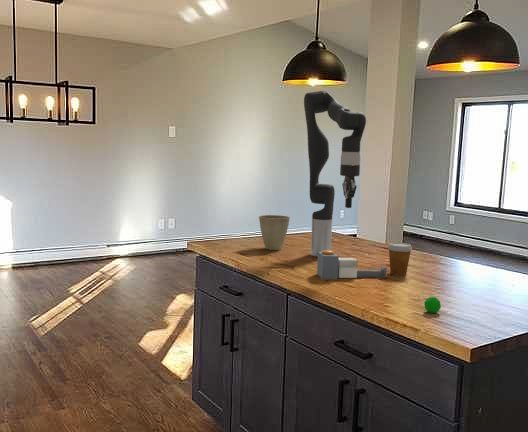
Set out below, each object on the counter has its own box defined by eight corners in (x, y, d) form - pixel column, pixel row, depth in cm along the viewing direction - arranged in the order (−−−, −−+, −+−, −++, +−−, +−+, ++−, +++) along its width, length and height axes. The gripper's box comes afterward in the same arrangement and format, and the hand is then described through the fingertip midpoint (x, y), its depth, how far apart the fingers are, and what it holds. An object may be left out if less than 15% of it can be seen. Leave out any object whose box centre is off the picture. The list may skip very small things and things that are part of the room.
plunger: (320, 261, 221) (321, 250, 221) (331, 261, 222) (332, 250, 221) (323, 264, 217) (323, 252, 216) (334, 264, 217) (335, 252, 217)
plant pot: (294, 248, 279) (295, 216, 277) (278, 253, 266) (279, 219, 264) (268, 245, 287) (269, 213, 285) (252, 249, 274) (253, 216, 272)
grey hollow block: (317, 273, 224) (317, 251, 223) (331, 274, 225) (332, 251, 224) (322, 279, 215) (323, 255, 214) (337, 279, 216) (338, 256, 215)
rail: (333, 275, 222) (334, 265, 221) (383, 276, 224) (383, 266, 224) (335, 277, 219) (335, 267, 218) (385, 277, 221) (386, 267, 221)
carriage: (335, 274, 223) (336, 257, 222) (352, 274, 224) (353, 257, 223) (338, 277, 218) (339, 260, 217) (356, 277, 219) (357, 260, 218)
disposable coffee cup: (411, 272, 233) (413, 243, 231) (409, 277, 224) (411, 247, 222) (387, 270, 236) (389, 241, 234) (385, 274, 227) (386, 245, 225)
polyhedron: (423, 309, 178) (424, 294, 178) (440, 311, 177) (441, 296, 176) (423, 313, 174) (424, 298, 173) (440, 315, 172) (441, 300, 172)
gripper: (336, 162, 227) (335, 205, 229) (345, 164, 214) (343, 209, 216) (355, 163, 227) (353, 205, 230) (364, 164, 214) (362, 210, 217)
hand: (348, 207), depth 223 cm, fingers closed
